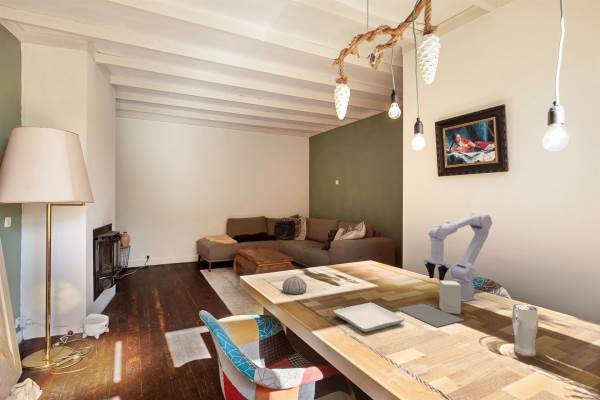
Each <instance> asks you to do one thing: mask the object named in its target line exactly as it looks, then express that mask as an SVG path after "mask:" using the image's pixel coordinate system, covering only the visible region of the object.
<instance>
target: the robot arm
mask: <svg viewBox="0 0 600 400" xmlns="http://www.w3.org/2000/svg"><path fill="white" fill-rule="evenodd" d="M492 225H493V220H492V218H491V216H490V215H489V214H479V213H470V214H467V215H466V216H465V217H463V218H461V219H459V220H456V221H449V220H448V221H446V223H444V224H439V225H438V226H437V227H436V226H434V227H432V228H431V229H430V230H429V232H428V236H429V237H430V258H427V257H424V258H423V263H425V264H424V266H425V268H426V269H427V270H426V271H427V273H428V277H429V279H433V278H435V277H434V276H435V269H436V266H437V270H438V281H439V282H440V280H441V281H445V276H446V274H447V272H448V271H449V269H450V273H449V274H450V276H451V277H452V280H453V281H456V282H457V283H459V284H460V285H461V302H468V301H473V300H476V297H475V285H474V282H473V279H474V278H475V277H474V276H475V273H476V268H475V267H474V264H475V261H476V260H477V258H478V257H479V254H480V252H481V250H482V248H483V246H484V244H485V242H486V241H487V238H488V236H489V233H490V229H491V227H492ZM466 226H469V227H470V228H471V230H472V231H473V232H474V235H473V237H472V239H471V240H470V243H469V245H468V246H467V248H466V251H465V253H464V254H463V256H462V259H461V260H459V261H457V262H456V263H455V264H454V265H453V266H452V263H449V262H447V261H444V255H445V254H444V248H445V247H444V246H445V245H444V243H445V239H446V238H447V237H448V236H450V235H452V234H455V233H457V232H458V230H459V229H460V228H464V227H466Z"/></svg>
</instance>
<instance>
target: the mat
mask: <svg viewBox="0 0 600 400" xmlns="http://www.w3.org/2000/svg"><path fill="white" fill-rule="evenodd" d="M396 311H399V312H401V313H403V314H405V315H408V316H410V317H412V318H414V319H415V320H416V319H417V320H418V321H421V322H423V323H425V324H428V325H429V326H432V327H434V328H437V329H438V328H443V327H446V326H450V325H454V324H459V323H462V322H464V321H465V319H463V318H461V317H458V316H456V315H453V314H452V313H446V312H443V311H442V310H441V309H439V308H435V307H433V306H430V305H427V304H426V303H417V304H413V305H408V306H402V307H397V308H396Z"/></svg>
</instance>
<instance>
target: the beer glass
mask: <svg viewBox="0 0 600 400" xmlns="http://www.w3.org/2000/svg"><path fill="white" fill-rule="evenodd" d="M538 311H539V310H538V308H537V307H535V306H534V305H530V304H525V303H515V304H513V305H512V317H511V319H512V327H513V333H514V345H513V349H512V350H513V352H515V353H516V354H518V355H520V356H524V357H528V358H533V357H536V355H537V351H536V348H535V347H536V346H535V342H536V337H537V334H538V329H539V312H538Z"/></svg>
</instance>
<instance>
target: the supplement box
mask: <svg viewBox="0 0 600 400" xmlns="http://www.w3.org/2000/svg"><path fill="white" fill-rule="evenodd" d="M438 293H439V295H438V297H439V298H438V299H439V306H438V307H439V310H440V311H443V312H446V313H448V314H458V315H459V314H461V311H462V310H461V307H462V305H461V302H462V301H461V285H460V284H459V283H457V282H456V281H454V280H443V281H441V280H440V281H439V292H438Z"/></svg>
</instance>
